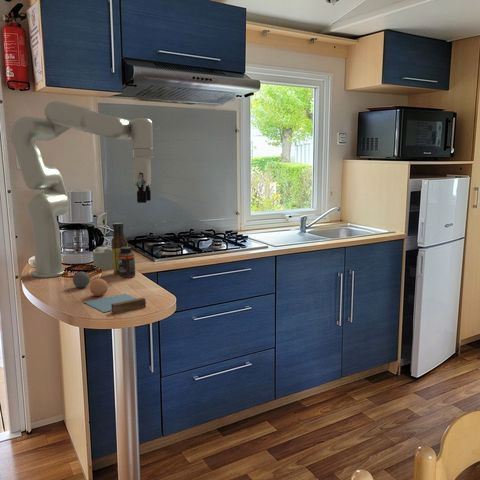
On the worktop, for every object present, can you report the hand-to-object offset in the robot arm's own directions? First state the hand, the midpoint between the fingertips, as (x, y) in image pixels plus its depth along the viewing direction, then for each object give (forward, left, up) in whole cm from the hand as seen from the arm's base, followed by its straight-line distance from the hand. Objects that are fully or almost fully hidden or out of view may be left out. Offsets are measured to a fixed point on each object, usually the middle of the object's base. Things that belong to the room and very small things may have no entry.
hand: (144, 201), depth 173 cm
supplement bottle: (-8, -4, -29) cm, 30 cm away
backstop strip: (+30, -24, -29) cm, 48 cm away
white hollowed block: (-29, -1, -29) cm, 41 cm away
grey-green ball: (-4, -24, -26) cm, 35 cm away
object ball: (+10, -24, -26) cm, 37 cm away
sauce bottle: (-14, -3, -29) cm, 32 cm away
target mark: (+21, -24, -29) cm, 43 cm away
